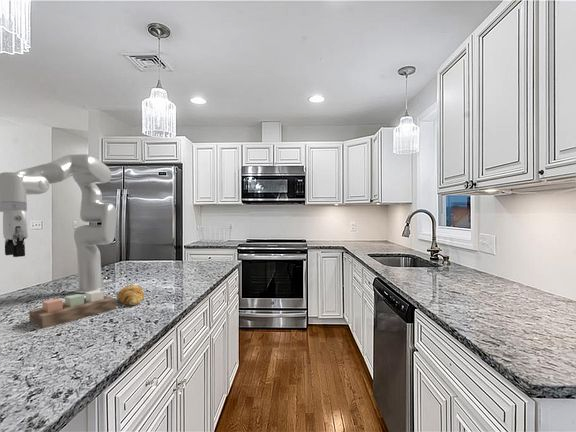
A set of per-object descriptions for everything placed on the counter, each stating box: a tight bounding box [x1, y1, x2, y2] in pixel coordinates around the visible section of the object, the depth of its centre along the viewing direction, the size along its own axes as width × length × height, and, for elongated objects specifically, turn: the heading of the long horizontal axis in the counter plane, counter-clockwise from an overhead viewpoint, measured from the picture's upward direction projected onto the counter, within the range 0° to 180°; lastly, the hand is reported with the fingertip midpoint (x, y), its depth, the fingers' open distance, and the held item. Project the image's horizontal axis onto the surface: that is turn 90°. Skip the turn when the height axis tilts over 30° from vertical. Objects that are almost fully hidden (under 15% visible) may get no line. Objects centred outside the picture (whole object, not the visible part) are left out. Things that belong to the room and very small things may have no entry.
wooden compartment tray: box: [28, 295, 117, 329], centre depth 121 cm, size 24×12×4 cm, turn 145°
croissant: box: [116, 284, 145, 306], centre depth 138 cm, size 21×10×8 cm, turn 32°
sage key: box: [64, 293, 85, 307], centre depth 121 cm, size 4×4×4 cm
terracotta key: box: [41, 298, 64, 313], centre depth 115 cm, size 4×4×4 cm
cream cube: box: [84, 290, 105, 302], centre depth 127 cm, size 4×4×4 cm
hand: (14, 255), depth 116 cm, fingers open, 9 cm apart
